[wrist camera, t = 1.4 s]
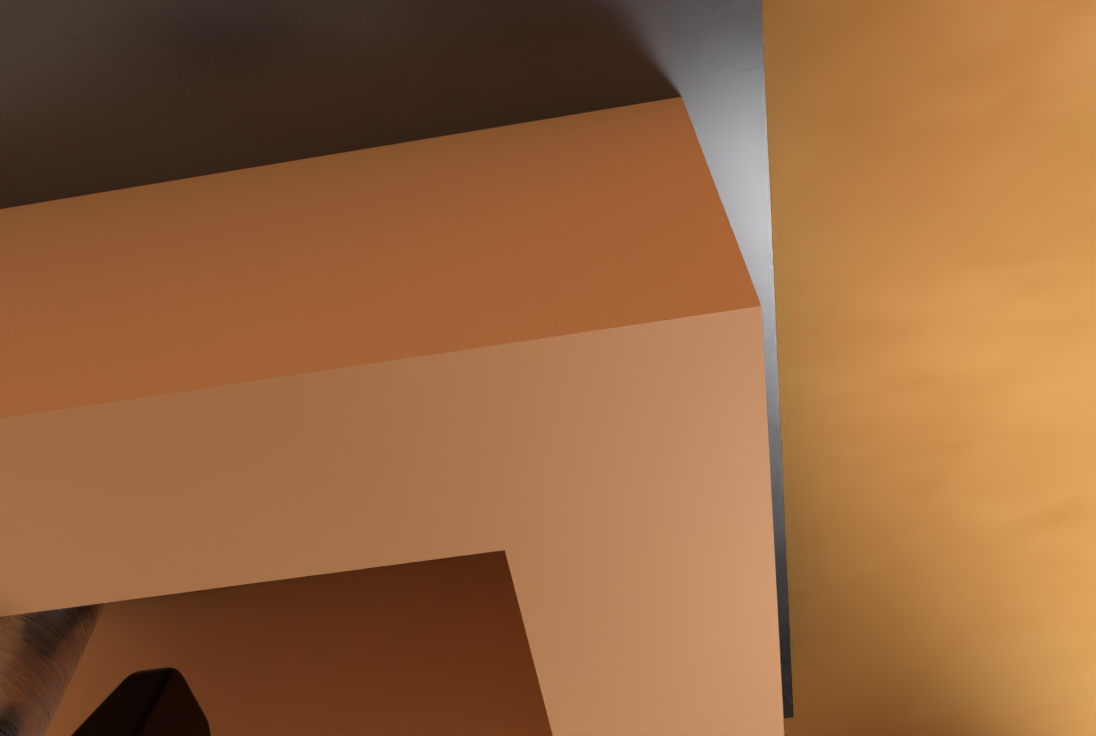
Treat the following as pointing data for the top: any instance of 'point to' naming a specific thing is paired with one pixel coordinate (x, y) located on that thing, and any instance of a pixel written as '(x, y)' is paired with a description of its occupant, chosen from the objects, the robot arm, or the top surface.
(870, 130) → the top surface
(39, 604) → the c link
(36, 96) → the peg stand
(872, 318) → the top surface
